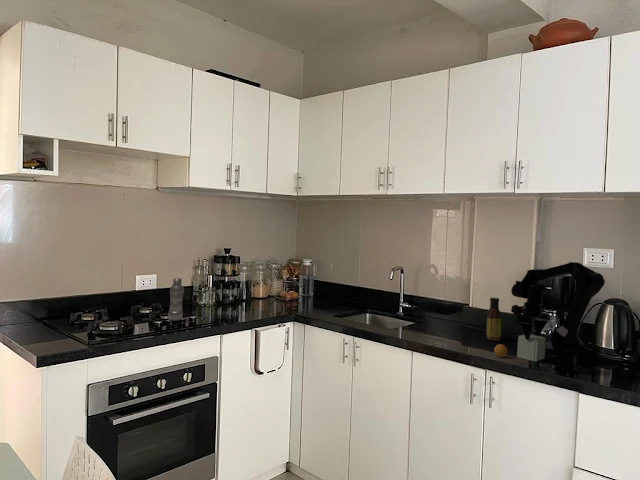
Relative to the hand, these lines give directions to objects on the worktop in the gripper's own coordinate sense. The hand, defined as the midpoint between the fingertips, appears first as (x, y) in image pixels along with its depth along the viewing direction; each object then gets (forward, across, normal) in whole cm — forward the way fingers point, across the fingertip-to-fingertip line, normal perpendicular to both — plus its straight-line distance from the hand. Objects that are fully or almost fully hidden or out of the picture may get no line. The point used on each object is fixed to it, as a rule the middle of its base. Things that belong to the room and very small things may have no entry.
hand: (532, 338), depth 202 cm
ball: (+6, +10, -8) cm, 14 cm away
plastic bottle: (+8, +92, -129) cm, 159 cm away
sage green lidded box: (+8, 0, 0) cm, 8 cm away
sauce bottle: (+8, -18, -26) cm, 33 cm away
